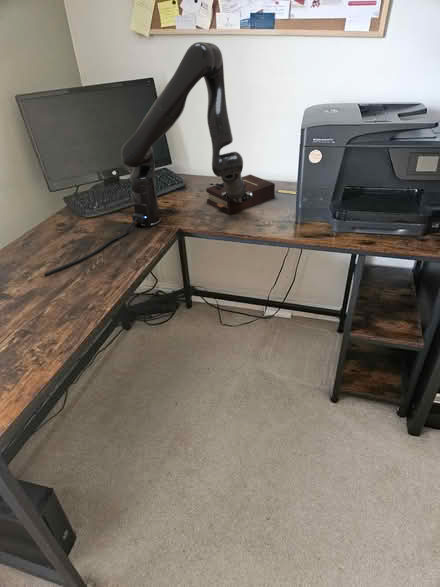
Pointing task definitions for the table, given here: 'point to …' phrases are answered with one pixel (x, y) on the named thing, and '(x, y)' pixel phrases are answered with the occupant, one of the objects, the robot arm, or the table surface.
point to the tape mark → (287, 192)
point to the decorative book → (252, 183)
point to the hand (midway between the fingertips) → (239, 203)
